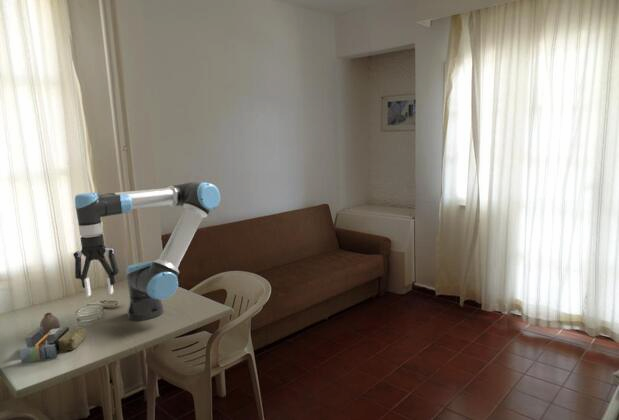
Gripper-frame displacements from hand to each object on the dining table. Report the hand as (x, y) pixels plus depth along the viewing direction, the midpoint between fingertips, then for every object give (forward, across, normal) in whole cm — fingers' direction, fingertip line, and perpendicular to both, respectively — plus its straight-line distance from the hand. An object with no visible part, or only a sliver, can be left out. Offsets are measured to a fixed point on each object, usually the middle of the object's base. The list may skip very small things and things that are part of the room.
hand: (100, 294), depth 162 cm
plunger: (+19, +18, +2) cm, 26 cm away
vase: (+19, +26, -14) cm, 35 cm away
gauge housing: (+19, +20, +3) cm, 28 cm away
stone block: (+20, +13, -1) cm, 23 cm away
